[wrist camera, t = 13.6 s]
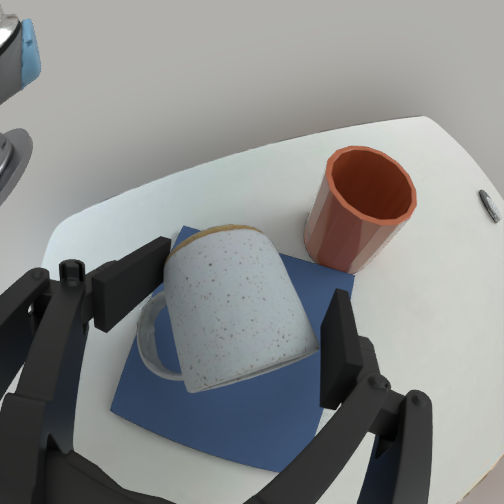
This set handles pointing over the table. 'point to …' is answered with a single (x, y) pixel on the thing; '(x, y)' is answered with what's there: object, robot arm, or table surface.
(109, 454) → the table surface
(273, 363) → the ceramic mug
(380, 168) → the clay cup
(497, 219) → the oval pebble
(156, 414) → the blue mat
